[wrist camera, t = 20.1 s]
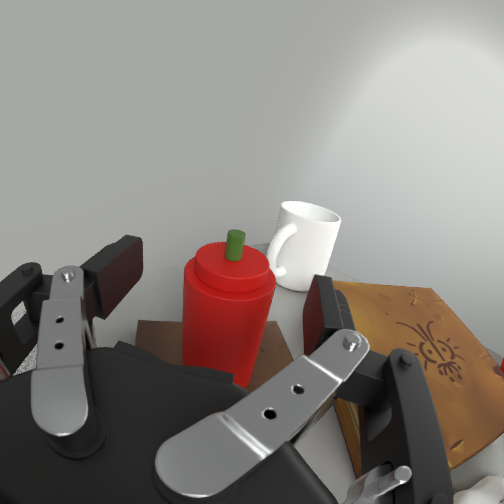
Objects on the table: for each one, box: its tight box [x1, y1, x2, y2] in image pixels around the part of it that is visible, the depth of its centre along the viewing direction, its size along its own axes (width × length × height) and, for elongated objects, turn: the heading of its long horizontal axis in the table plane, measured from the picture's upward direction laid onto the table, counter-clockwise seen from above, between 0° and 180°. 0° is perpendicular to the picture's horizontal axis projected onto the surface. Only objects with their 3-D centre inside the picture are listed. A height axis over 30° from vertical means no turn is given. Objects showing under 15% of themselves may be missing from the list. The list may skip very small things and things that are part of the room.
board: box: [135, 320, 294, 393], centre depth 21 cm, size 14×12×2 cm
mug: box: [266, 201, 341, 292], centre depth 36 cm, size 12×8×10 cm
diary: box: [333, 281, 504, 479], centre depth 21 cm, size 23×19×6 cm
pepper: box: [182, 230, 276, 388], centre depth 18 cm, size 6×6×12 cm
